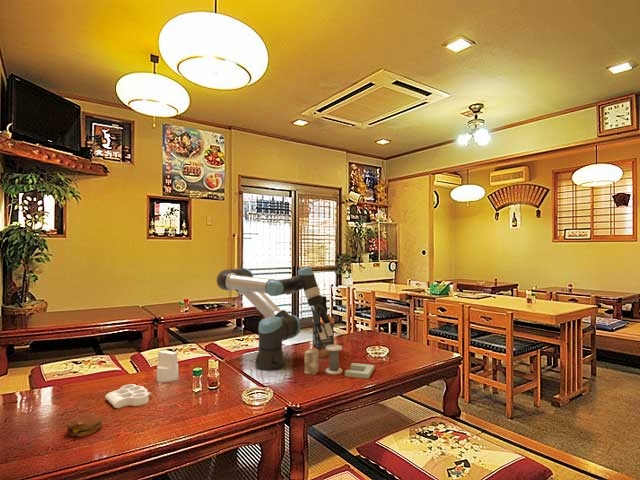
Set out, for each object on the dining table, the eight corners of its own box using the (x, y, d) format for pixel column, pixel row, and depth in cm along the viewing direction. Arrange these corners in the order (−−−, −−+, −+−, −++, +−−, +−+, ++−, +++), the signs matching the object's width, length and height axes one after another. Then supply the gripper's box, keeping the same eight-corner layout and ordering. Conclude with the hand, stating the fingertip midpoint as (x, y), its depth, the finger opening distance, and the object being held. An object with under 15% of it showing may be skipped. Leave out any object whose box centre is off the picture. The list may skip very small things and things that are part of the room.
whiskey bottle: (319, 358, 209) (319, 298, 210) (310, 353, 218) (310, 295, 218) (335, 355, 214) (335, 296, 214) (327, 351, 223) (327, 294, 223)
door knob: (323, 373, 184) (323, 348, 185) (328, 368, 192) (328, 343, 192) (339, 375, 182) (339, 349, 182) (344, 370, 189) (344, 345, 190)
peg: (304, 373, 185) (304, 352, 185) (308, 370, 190) (308, 349, 190) (314, 374, 183) (314, 353, 183) (318, 371, 188) (318, 350, 188)
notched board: (344, 376, 181) (344, 371, 181) (352, 366, 194) (352, 362, 194) (368, 378, 177) (368, 374, 178) (374, 369, 191) (374, 365, 191)
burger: (100, 421, 136) (100, 408, 136) (102, 432, 128) (102, 418, 128) (66, 428, 131) (66, 414, 131) (66, 441, 123) (66, 426, 123)
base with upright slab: (152, 380, 176) (152, 353, 176) (167, 374, 184) (168, 348, 184) (167, 383, 172) (167, 356, 172) (182, 377, 180) (182, 350, 180)
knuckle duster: (102, 398, 156) (140, 389, 166) (117, 413, 143) (157, 401, 153) (102, 390, 156) (140, 381, 166) (117, 403, 143) (157, 393, 153)
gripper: (313, 294, 186) (327, 338, 182) (326, 293, 210) (339, 332, 206) (299, 300, 188) (313, 343, 184) (314, 298, 212) (327, 336, 207)
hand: (327, 337), depth 195 cm, fingers open, 13 cm apart
